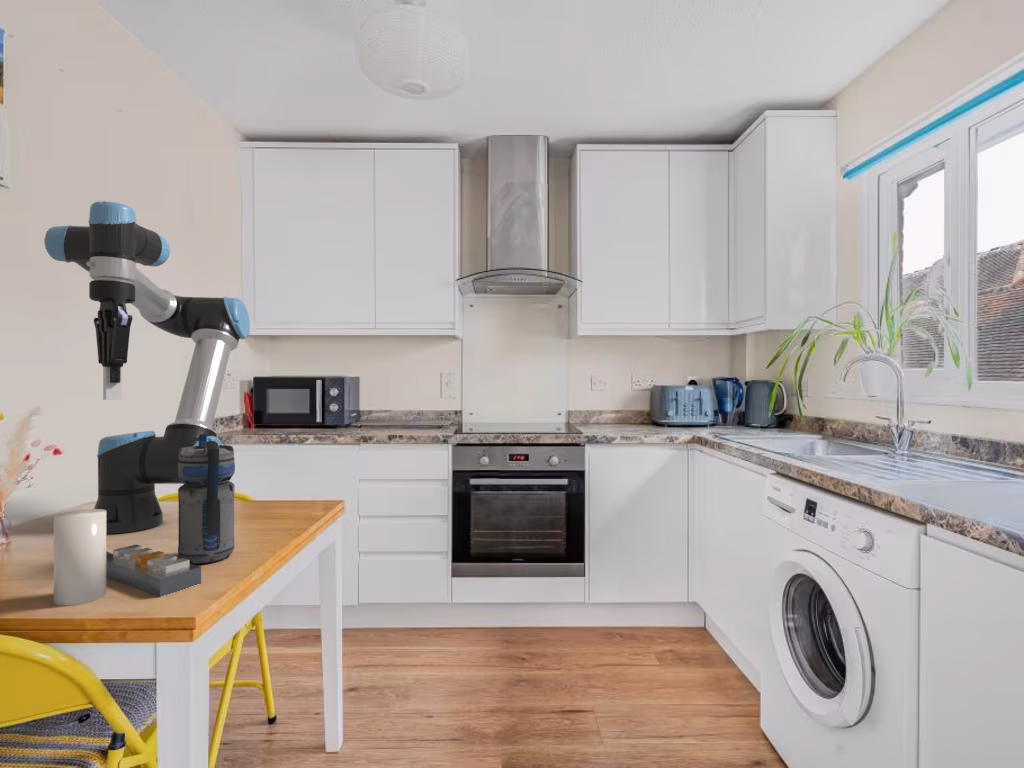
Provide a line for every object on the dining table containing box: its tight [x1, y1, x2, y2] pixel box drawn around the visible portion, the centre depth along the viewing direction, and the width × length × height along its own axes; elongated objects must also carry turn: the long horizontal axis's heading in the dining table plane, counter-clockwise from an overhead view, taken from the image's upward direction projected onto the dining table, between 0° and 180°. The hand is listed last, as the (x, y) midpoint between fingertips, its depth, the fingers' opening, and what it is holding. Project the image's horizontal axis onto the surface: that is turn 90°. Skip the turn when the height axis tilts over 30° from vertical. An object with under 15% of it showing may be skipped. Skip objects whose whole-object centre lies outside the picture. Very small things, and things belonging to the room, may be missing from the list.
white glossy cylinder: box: [53, 508, 107, 607], centre depth 94 cm, size 7×7×14 cm
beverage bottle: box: [177, 434, 236, 565], centre depth 115 cm, size 10×13×25 cm
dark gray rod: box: [106, 550, 113, 558], centre depth 114 cm, size 11×1×1 cm, turn 54°
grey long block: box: [106, 544, 202, 598], centre depth 103 cm, size 20×7×5 cm, turn 60°
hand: (112, 399), depth 113 cm, fingers closed
